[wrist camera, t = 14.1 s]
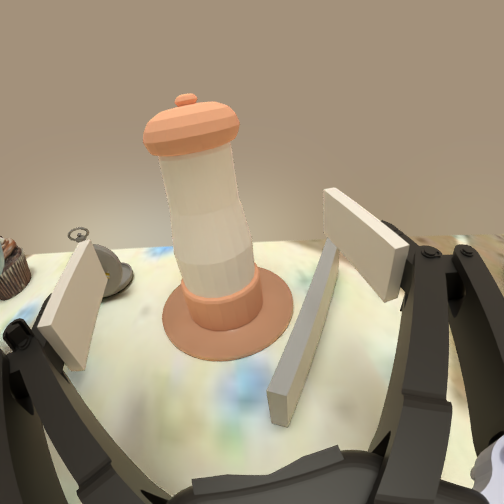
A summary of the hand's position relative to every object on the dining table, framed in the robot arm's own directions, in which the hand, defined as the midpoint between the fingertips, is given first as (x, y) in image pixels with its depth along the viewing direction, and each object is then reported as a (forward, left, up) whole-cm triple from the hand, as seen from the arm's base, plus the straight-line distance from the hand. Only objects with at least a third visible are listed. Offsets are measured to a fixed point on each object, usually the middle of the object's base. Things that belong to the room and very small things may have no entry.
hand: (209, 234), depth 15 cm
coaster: (-4, +6, -12) cm, 14 cm away
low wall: (+5, +5, -12) cm, 14 cm away
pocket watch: (-20, +4, -13) cm, 24 cm away
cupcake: (-42, -3, -13) cm, 44 cm away
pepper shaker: (-4, +6, -12) cm, 14 cm away
